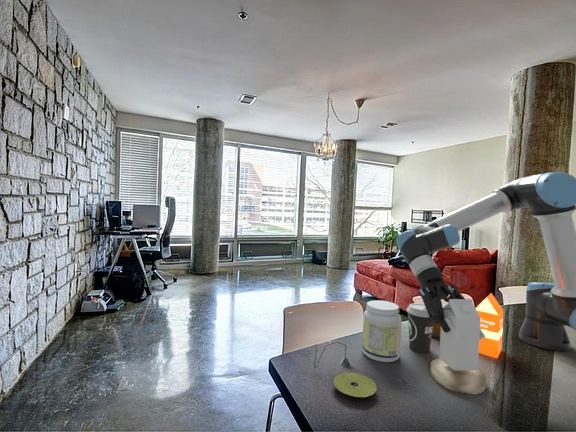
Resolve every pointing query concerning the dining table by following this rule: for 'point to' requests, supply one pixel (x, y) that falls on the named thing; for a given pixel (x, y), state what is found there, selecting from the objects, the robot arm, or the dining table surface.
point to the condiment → (436, 331)
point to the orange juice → (490, 326)
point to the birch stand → (458, 378)
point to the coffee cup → (419, 328)
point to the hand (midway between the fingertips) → (469, 340)
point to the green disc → (355, 384)
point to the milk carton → (461, 335)
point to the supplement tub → (382, 331)
